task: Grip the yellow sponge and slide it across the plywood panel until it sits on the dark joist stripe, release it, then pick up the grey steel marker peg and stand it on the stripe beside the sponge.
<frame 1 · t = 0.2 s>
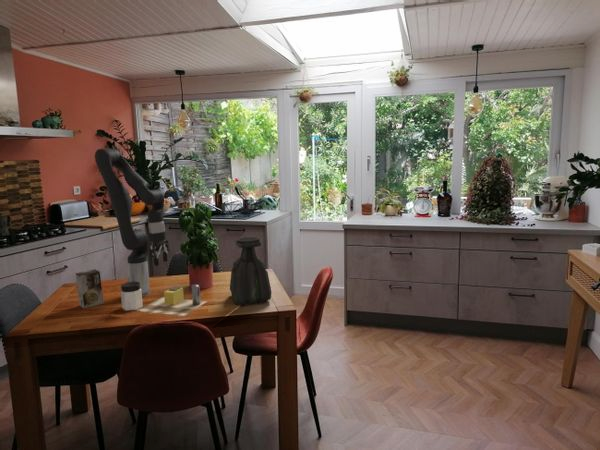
hand: (161, 263, 210), 17 cm above the table, tool pointing down, fingers open, 8 cm apart
coffee box: (91, 305, 205), on the table
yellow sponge: (174, 302, 203), point 1 cm above the table, touching panel
panel: (172, 308, 197), on the table
jar: (132, 309, 198), on the table
dark grey vase: (250, 300, 206), on the table
peg: (196, 304, 199), point 1 cm above the table, touching panel
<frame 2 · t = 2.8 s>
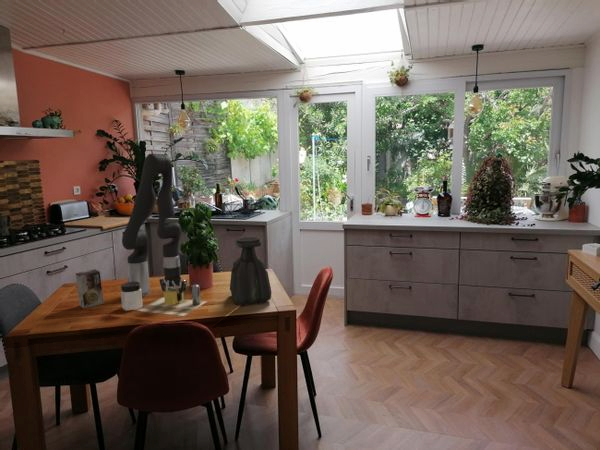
hand: (174, 300, 203), 2 cm above the table, tool pointing down, fingers closed on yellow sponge, 5 cm apart
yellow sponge: (174, 302, 203), point 1 cm above the table, touching gripper, panel
everything else where it was.
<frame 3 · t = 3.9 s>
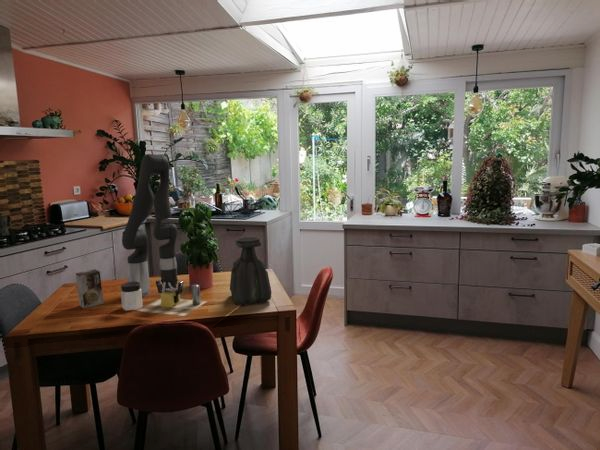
hand: (171, 302, 200), 2 cm above the table, tool pointing down, fingers closed on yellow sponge, 5 cm apart
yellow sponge: (171, 304, 200), point 1 cm above the table, touching gripper
everything else where it was.
when the fingers open (2 cm above the table, at t = 5.3 s): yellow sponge stays where it is, resting on panel.
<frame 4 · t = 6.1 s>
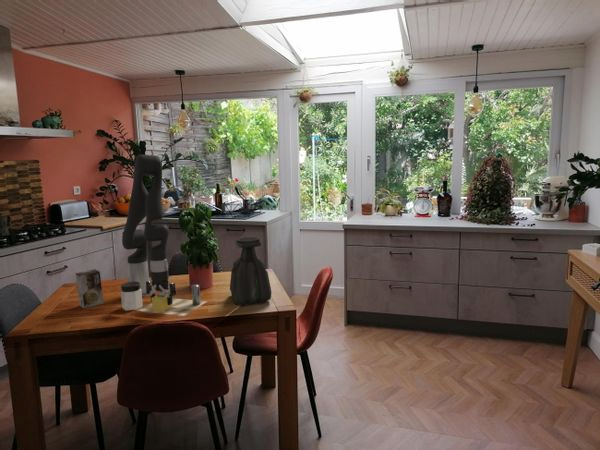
hand: (161, 303, 194), 3 cm above the table, tool pointing down, fingers open, 8 cm apart
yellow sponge: (162, 308, 195), point 1 cm above the table, touching panel
everything else where it was.
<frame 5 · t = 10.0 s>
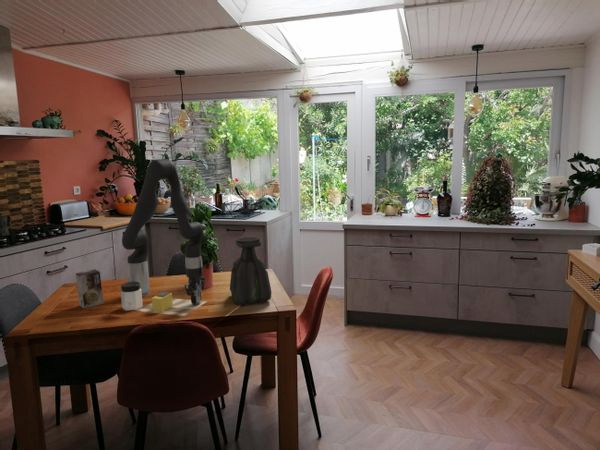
hand: (196, 301, 199), 2 cm above the table, tool pointing down, fingers closed on peg, 3 cm apart
peg: (196, 304, 199), point 1 cm above the table, touching gripper, panel
everything else where it was.
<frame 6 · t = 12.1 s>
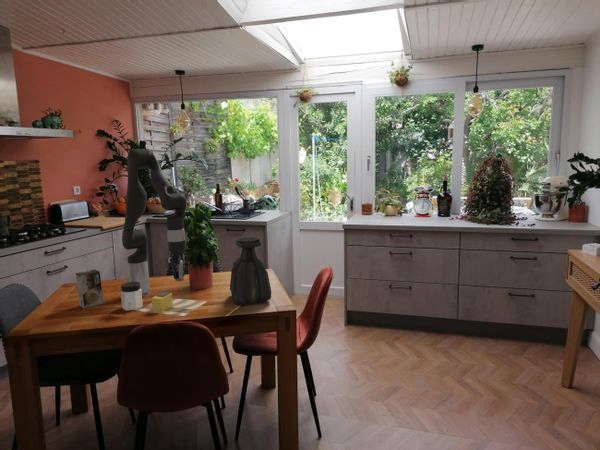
hand: (179, 277, 189), 16 cm above the table, tool pointing down, fingers closed on peg, 3 cm apart
peg: (179, 280, 189), point 15 cm above the table, touching gripper
everything else where it was.
when the fingers open (4 cm above the table, at t = 14.5 s): peg drops 2 cm, resting on panel.
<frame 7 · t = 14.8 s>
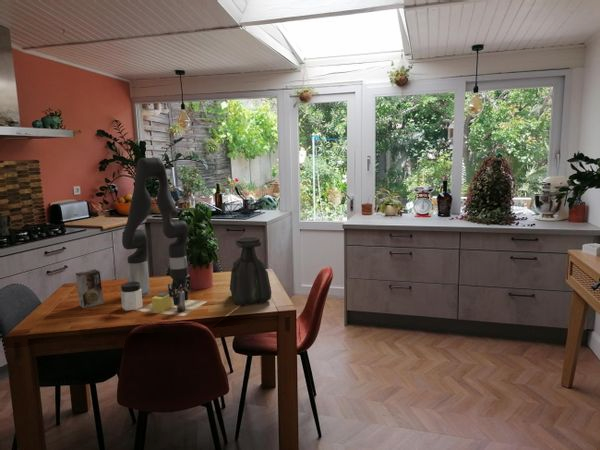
hand: (181, 302, 191), 5 cm above the table, tool pointing down, fingers open, 6 cm apart
peg: (181, 310, 191), point 1 cm above the table, touching panel
everything else where it was.
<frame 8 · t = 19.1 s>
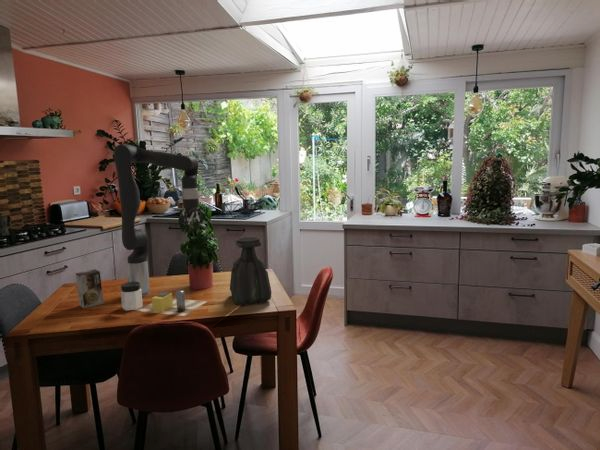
hand: (192, 230, 209), 33 cm above the table, tool pointing down, fingers open, 8 cm apart
nothing on the table moved.
at the end: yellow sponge inside the target area (0.1 cm from its centre), point 1.0 cm above the table; peg inside the target area (0.2 cm from its centre), point 1.0 cm above the table; peg tilted 0° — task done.
